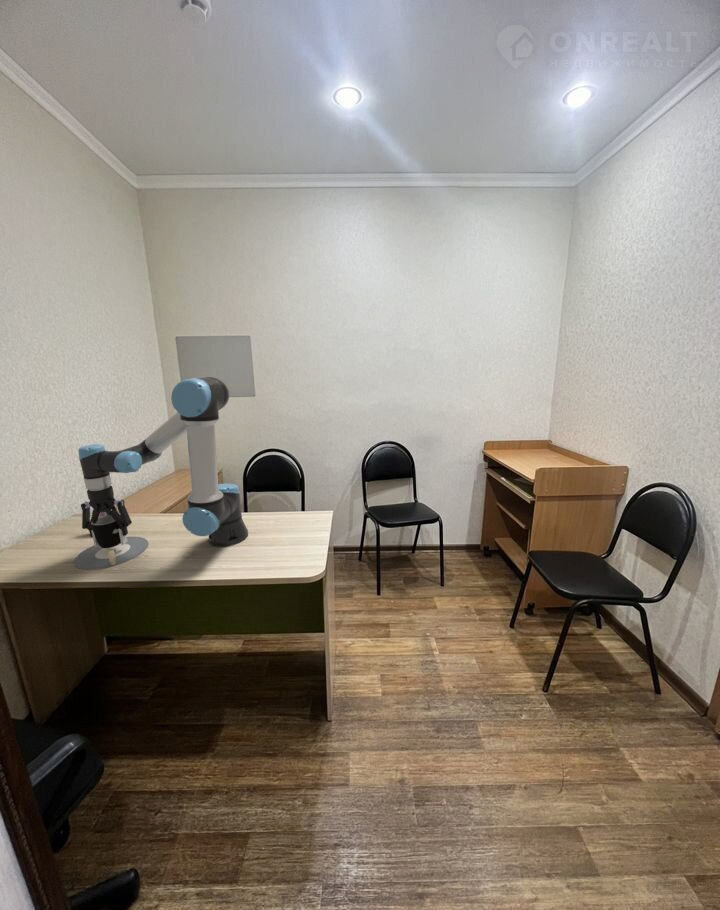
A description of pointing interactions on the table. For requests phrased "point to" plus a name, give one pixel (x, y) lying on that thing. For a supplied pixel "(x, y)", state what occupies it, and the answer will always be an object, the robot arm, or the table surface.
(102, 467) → the robot arm
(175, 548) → the table surface
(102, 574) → the table surface
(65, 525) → the table surface
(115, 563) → the flange base
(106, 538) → the mug
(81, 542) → the table surface
